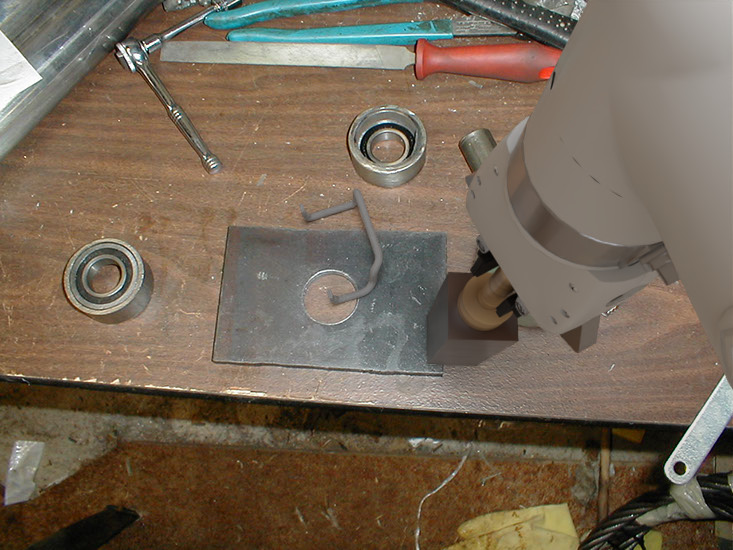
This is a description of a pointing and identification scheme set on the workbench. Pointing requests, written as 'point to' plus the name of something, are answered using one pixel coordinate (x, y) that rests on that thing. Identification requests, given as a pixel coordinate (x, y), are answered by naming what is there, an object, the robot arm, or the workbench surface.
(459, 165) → the workbench surface
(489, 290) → the muddler
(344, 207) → the bracket
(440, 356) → the brown block
